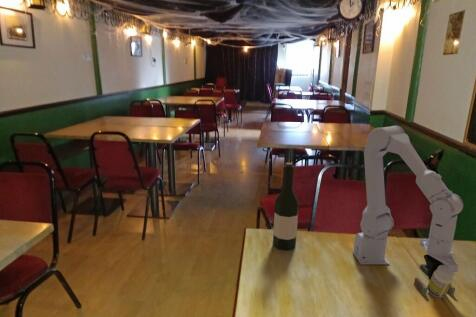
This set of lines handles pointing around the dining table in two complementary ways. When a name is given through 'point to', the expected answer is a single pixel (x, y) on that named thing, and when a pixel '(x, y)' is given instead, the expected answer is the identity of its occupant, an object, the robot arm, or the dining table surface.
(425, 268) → the dark gray rectangular tray
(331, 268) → the dining table surface
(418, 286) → the channel
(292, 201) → the wine bottle
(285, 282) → the dining table surface
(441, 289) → the supplement bottle
